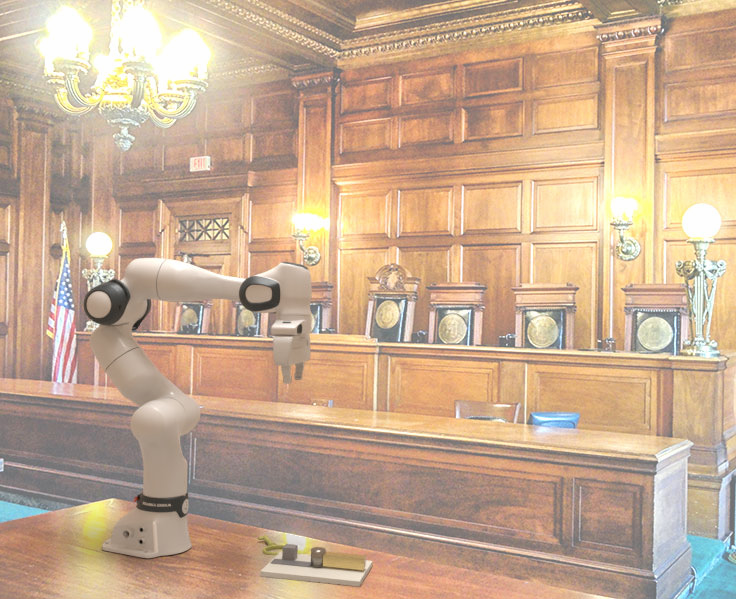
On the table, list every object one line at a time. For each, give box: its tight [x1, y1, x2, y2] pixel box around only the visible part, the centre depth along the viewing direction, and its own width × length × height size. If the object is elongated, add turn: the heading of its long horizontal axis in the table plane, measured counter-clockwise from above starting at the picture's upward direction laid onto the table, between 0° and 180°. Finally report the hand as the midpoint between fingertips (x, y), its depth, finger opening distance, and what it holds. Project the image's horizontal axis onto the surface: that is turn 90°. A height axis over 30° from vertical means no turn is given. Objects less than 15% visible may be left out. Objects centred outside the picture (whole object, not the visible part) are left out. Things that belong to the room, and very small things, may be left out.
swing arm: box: [310, 546, 367, 570], centre depth 192 cm, size 13×4×4 cm, turn 78°
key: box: [257, 534, 285, 556], centre depth 209 cm, size 7×12×2 cm, turn 44°
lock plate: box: [259, 543, 374, 588], centre depth 193 cm, size 24×15×4 cm, turn 78°
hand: (292, 381), depth 200 cm, fingers open, 8 cm apart
